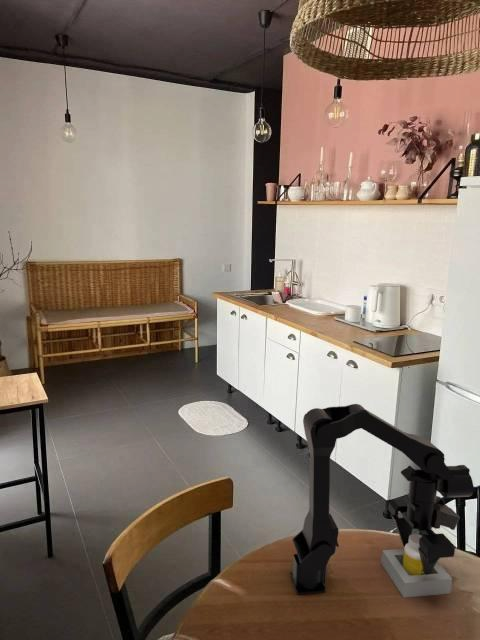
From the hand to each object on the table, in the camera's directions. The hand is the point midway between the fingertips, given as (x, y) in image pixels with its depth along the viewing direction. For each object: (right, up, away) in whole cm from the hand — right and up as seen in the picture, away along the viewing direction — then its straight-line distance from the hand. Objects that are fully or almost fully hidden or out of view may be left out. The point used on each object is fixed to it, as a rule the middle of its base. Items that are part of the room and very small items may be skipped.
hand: (416, 560), depth 106 cm
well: (0, -4, +1) cm, 4 cm away
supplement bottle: (0, -5, +1) cm, 5 cm away
